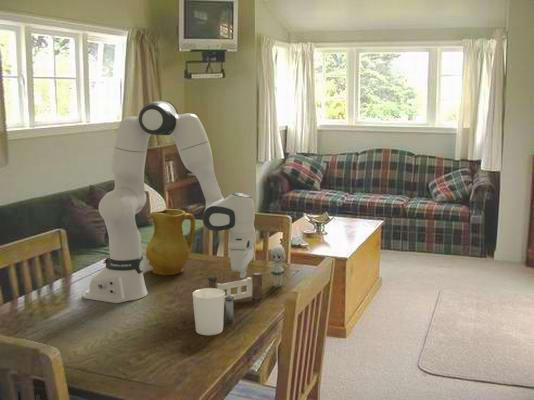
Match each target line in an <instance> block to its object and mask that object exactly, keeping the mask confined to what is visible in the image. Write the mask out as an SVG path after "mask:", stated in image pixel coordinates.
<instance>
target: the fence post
mask: <svg viewBox="0 0 534 400" xmlns="http://www.w3.org/2000/svg"><path fill="white" fill-rule="evenodd" d="M252 299H254V300H256V301H257V300H261V299H263V273H261V272H259V271H258V272H254V273H252Z"/></svg>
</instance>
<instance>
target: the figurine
mask: <svg viewBox="0 0 534 400" xmlns="http://www.w3.org/2000/svg"><path fill="white" fill-rule="evenodd" d="M269 255H270V256H271V257H270V261H271V262H270V263H269V264H267V265H266V266H265V268H267V269H268V267H270V266H273V265H274V266H273V267H272V269H271V274H272V275H273V276H272V277H273V286H276V284H277V276H278V278H279V281H280V282H279V287H280V286H282V285H283V275H284V274H285V270H284V268H287V270H288V271H292V269H291V268H290V266H288V265H287V264H286V263H285V261H286V260H287V256H286V250H285V248H284V247H283V246H282V245H279V244H278V245H275V246H273V248H271V250H270V252H269ZM272 260H273V261H272ZM282 266H283V267H284V268H283V267H282Z"/></svg>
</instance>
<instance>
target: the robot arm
mask: <svg viewBox="0 0 534 400" xmlns="http://www.w3.org/2000/svg"><path fill="white" fill-rule="evenodd" d="M115 135H116V136H115V139H114V140H115V141H114V146H113V155H112V162H111V171H112V173H113V178H114V179H113V180H114V189H112V190H110V191H108V192H106V193H105V194H104V195H103V197H102V198H101V199H100V201H99V203H98V212H99V215H100V217H101V218H103V219H102V220H103V221H104V224H105V227H106V231H107V234H108V235H107V236H108V247H109V255H108V256H107V257H106V258H105V259H104V260H103V261H102V262H103V263H102V264H104V265H105V267H103V268H102V269H100V270H99V272H97V273H96V274H95V275H94V276H93V277H91V280H90V281H89V282H90V283H89V288H88V289H86V290H85V291H84V292H83V294H82V295H83V296H82V297H83V299H85V300H86V299H87V300H93V301H99V302H100V301H101V302H106V303H114V304H120V303H123V302H129V301H136V300H138V299H141V298H144V297H146V296H147V295H148V294H149V292H148V290H147V287H146V284H145V283H146V282H145V278H144V255H143V254H142V236H141V232H140V231H139V228H138V226H137V222H136V215H137V214H138V213H140V212H141V211H142V209H143V208H145V204H146V202H147V194H146V190H145V168H146V167H145V166H146V159H147V154H148V153H147V151H148V146H149V145H148V144H149V139H150V137H151V136H171V137H172V139H173V140H174V143H175V146H176V149H177V151H178V154H179V157H180V159H181V163H183V166H184V167H185V168H186V169H187V170H188V171H189V172H191V173H192V174H193V175H194V176H195V177H196V179H197V180H198V182H199V186H200V189H201V190H202V194H203V196H204V200H205V208H204V211H203V213H202V218H201V219H202V224H203V225H204V227H205V228H206V229H207V230H210V231H212V232H221V231H226V230H229V240H228V244H227V248H228V249H229V260H230V267H231V270H232V272H238V273H239V277H240V279H246V278H247V275H248V266H249V263H250V262H251V261H252V260H253V258H254V257H255V249H254V248H255V247H254V245H255V244H256V228H255V219H256V217H255V216H256V212H255V211H256V210H255V202H254V200H253V198H252V196H251V195H249V194H248V193H247V194H246V193H243V192H232V193H231V194H230V195H228V196H227V197H225V196H224V195H223V193H222V191H221V187H220V184H219V181H218V179H217V176H216V173H215V167H214V166H215V165H214V158H213V153H212V146H211V143H210V140H209V138H208V135H207V133H206V129H205V128H204V125H203V124H202V122H201V120H200V118H199V117H198V115H196V114H194V113H191V112H190V113H188V112H187V113H182V114H179V113H178V109H177V107H176V106H175V105H174V104H172V102H170V101H167V100H155V101H151V102H150V103H147V104H146V105H144V106H143V107H142V108H141V110H140V112H139V114H138V116H135V115H134V116H133V115H132V116H126V117H123V118H122V119H121V121H120V122H119V125H118V128H117V132H116V134H115Z"/></svg>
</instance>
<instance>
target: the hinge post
mask: <svg viewBox="0 0 534 400" xmlns="http://www.w3.org/2000/svg"><path fill="white" fill-rule="evenodd" d="M217 278H218V277H217V276H208V277H207V281H208V288H216V284H217Z"/></svg>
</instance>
